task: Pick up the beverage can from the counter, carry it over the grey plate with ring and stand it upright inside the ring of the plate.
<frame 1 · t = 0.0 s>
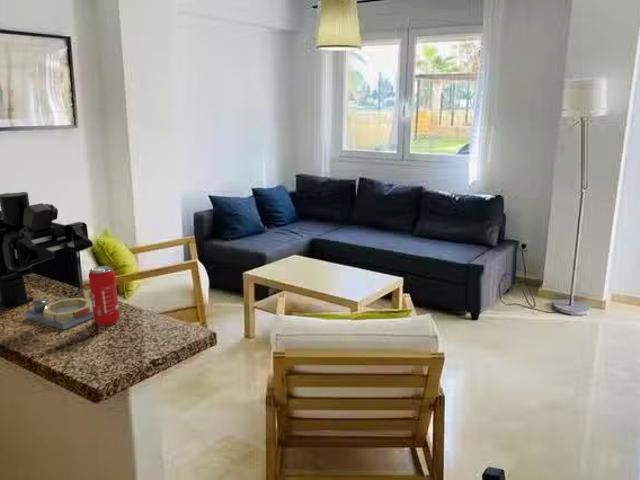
hand: (73, 249, 119), 17 cm above the table, tool horizontal, fingers open, 9 cm apart
grey plate with ring: (65, 316, 127), on the table
beverage can: (107, 322, 124), on the table
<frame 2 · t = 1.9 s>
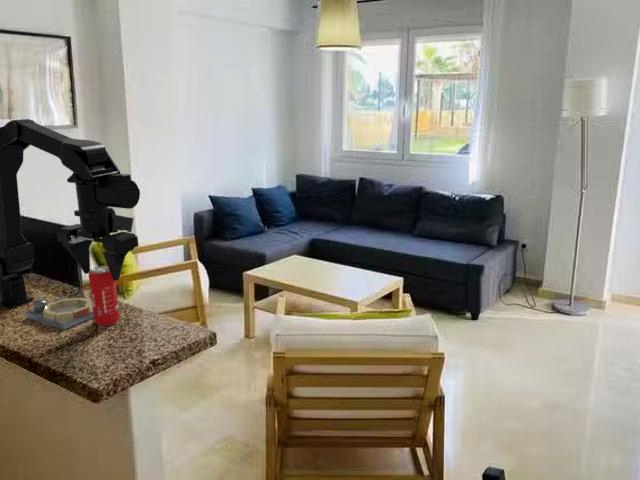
hand: (101, 276, 121), 10 cm above the table, tool pointing down, fingers open, 9 cm apart
nothing on the table moved.
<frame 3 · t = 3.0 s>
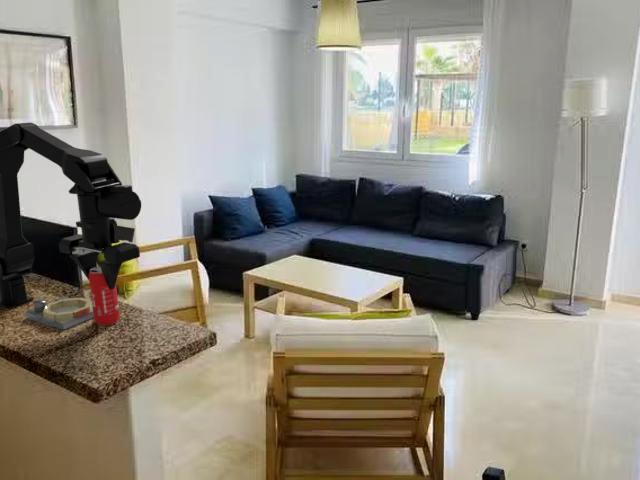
hand: (103, 286, 122), 8 cm above the table, tool pointing down, fingers closed on beverage can, 5 cm apart
beverage can: (107, 322, 124), on the table, touching gripper
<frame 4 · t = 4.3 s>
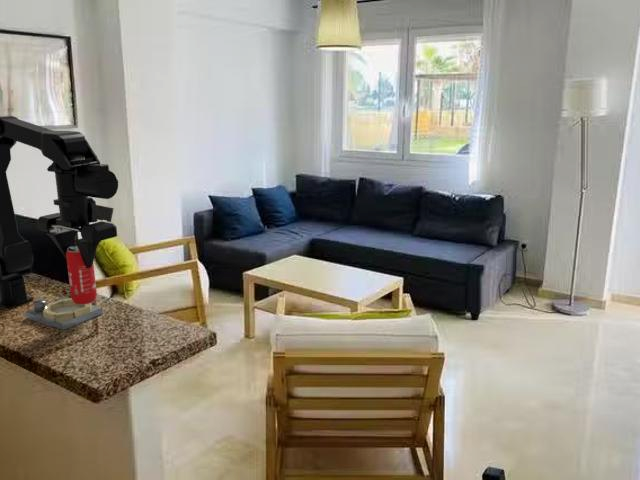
hand: (80, 265, 122), 12 cm above the table, tool pointing down, fingers closed on beverage can, 5 cm apart
beverage can: (84, 301, 125), point 4 cm above the table, touching gripper
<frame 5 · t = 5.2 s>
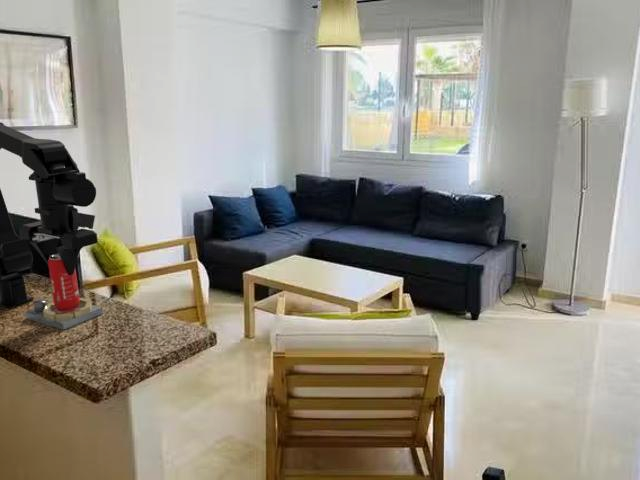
hand: (62, 272, 124), 10 cm above the table, tool pointing down, fingers closed on beverage can, 5 cm apart
beverage can: (67, 308, 126), point 2 cm above the table, touching gripper
when the fingers open (10 cm above the table, at t = 5.8 s): beverage can stays where it is, resting on grey plate with ring.
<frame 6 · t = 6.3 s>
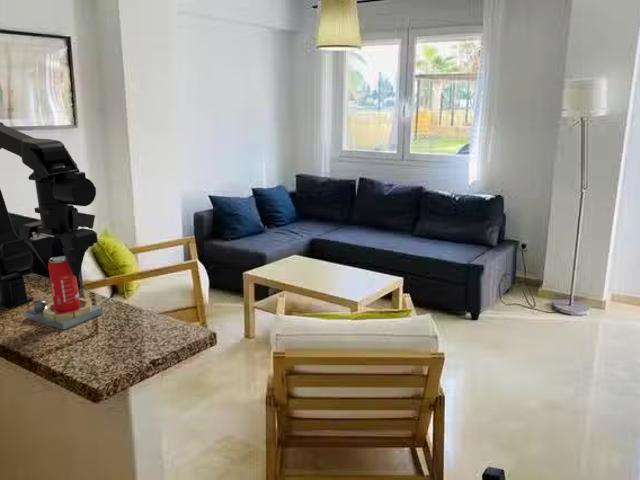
hand: (63, 272, 124), 10 cm above the table, tool pointing down, fingers open, 9 cm apart
beverage can: (68, 311, 126), point 1 cm above the table, touching grey plate with ring
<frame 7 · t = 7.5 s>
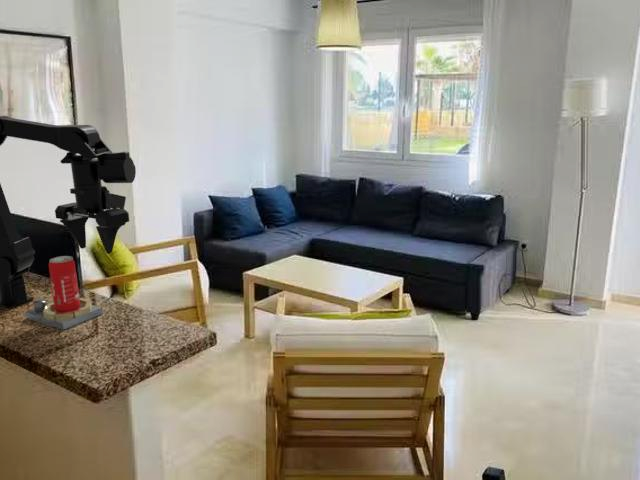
hand: (96, 250, 130), 13 cm above the table, tool pointing down, fingers open, 9 cm apart
nothing on the table moved.
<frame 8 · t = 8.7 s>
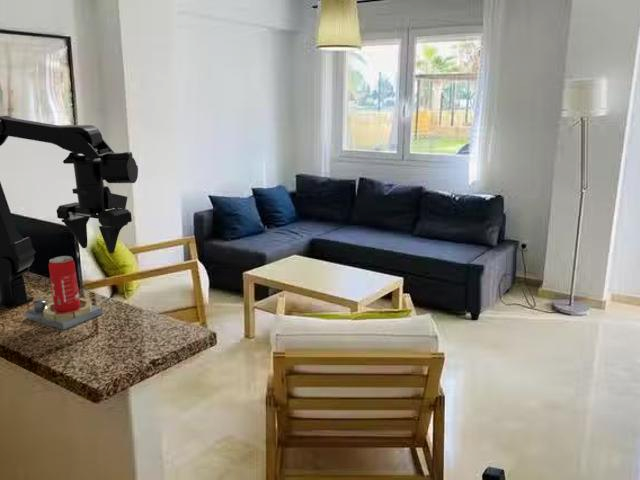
hand: (97, 250, 131), 13 cm above the table, tool pointing down, fingers open, 9 cm apart
nothing on the table moved.
at the end: beverage can 0.1 cm from the target spot on the grey plate with ring, point 1.3 cm above the grey plate with ring's base; beverage can tilted 0°; the gripper is holding nothing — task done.
